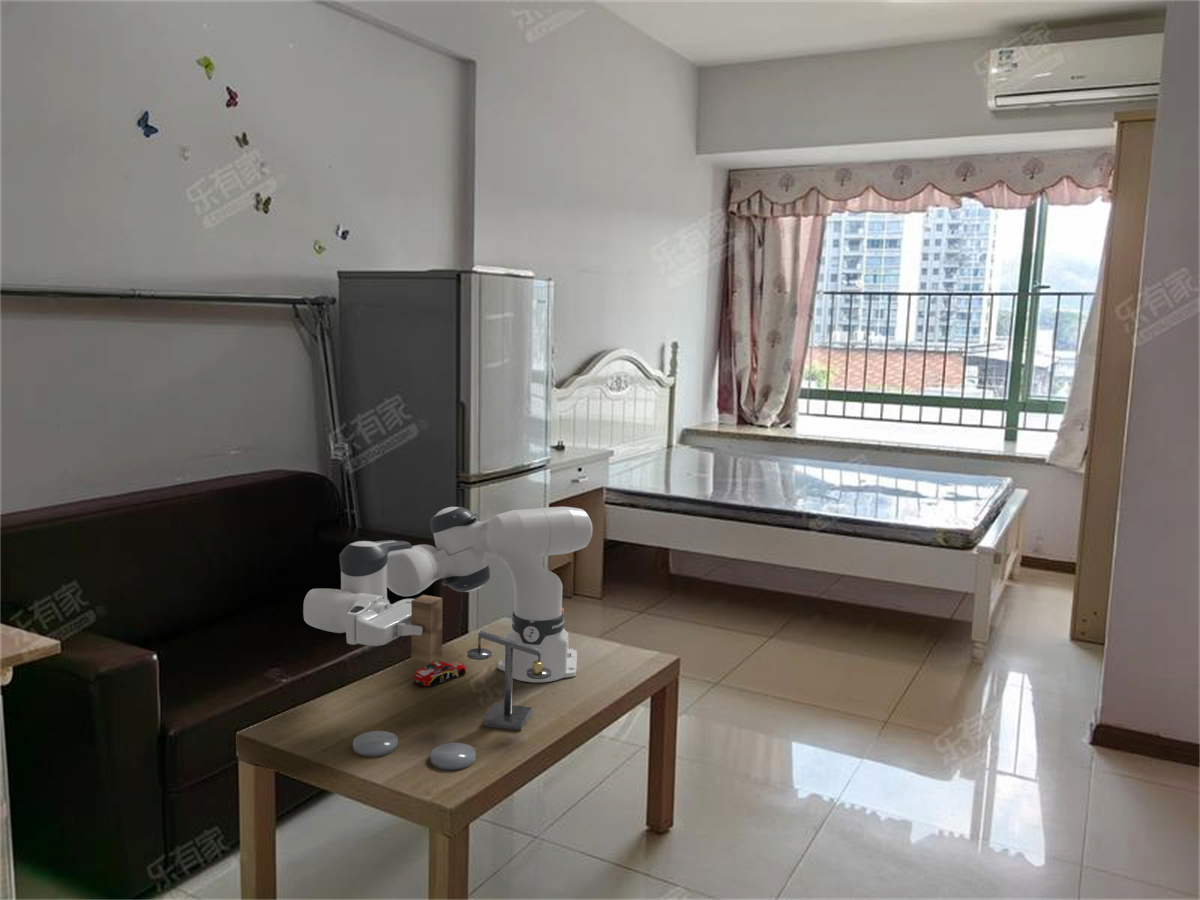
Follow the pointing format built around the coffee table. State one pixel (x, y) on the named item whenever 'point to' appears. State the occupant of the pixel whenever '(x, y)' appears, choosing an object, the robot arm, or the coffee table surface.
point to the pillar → (427, 628)
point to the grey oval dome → (375, 743)
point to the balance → (509, 682)
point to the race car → (438, 672)
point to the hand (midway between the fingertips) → (430, 626)
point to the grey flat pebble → (453, 756)
